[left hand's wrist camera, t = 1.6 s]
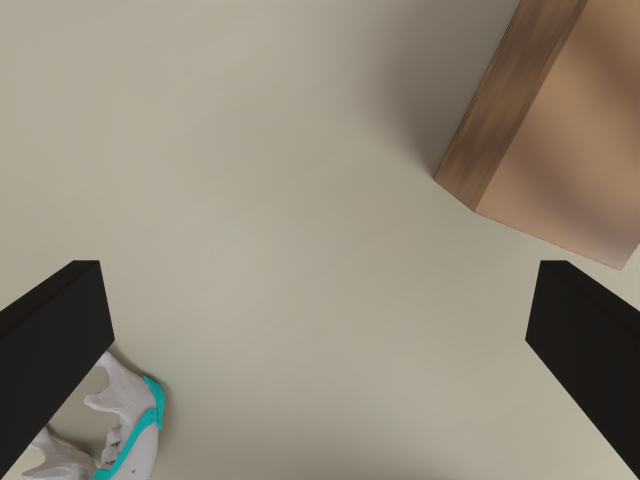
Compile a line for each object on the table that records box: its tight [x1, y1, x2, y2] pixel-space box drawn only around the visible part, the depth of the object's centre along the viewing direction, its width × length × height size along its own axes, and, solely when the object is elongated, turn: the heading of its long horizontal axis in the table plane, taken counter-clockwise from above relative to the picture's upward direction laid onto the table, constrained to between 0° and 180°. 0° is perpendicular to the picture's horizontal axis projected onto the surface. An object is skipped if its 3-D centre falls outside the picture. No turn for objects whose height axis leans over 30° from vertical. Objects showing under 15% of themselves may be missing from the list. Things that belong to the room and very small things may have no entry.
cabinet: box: [433, 0, 640, 270], centre depth 27 cm, size 20×11×10 cm, turn 159°
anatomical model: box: [22, 351, 165, 480], centre depth 38 cm, size 15×10×10 cm
